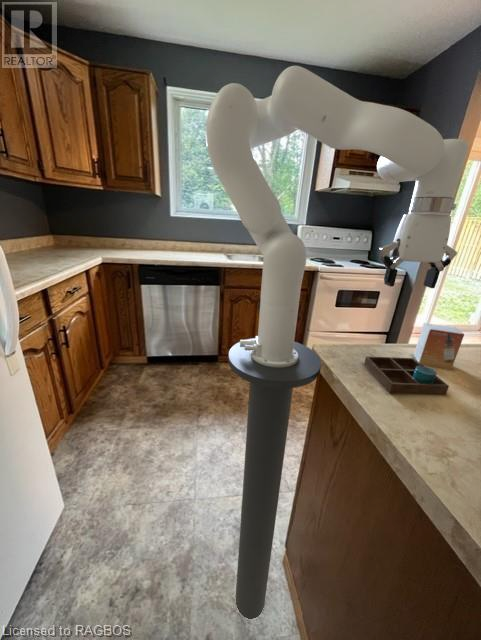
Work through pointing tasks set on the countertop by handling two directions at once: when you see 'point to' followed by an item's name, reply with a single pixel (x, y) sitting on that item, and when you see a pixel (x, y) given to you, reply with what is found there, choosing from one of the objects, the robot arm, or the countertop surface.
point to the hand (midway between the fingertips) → (408, 286)
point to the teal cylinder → (424, 375)
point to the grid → (402, 376)
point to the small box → (438, 345)
